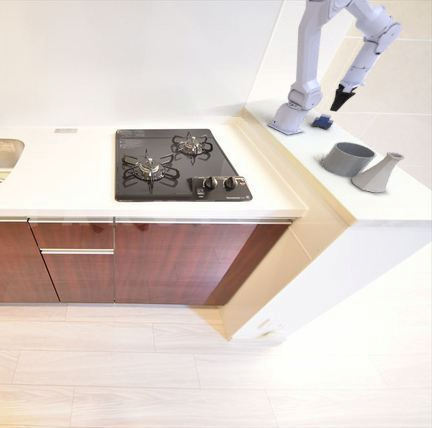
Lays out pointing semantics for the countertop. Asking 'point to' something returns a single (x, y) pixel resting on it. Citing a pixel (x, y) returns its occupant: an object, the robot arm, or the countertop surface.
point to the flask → (378, 174)
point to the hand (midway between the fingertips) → (334, 107)
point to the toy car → (323, 121)
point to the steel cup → (348, 159)
